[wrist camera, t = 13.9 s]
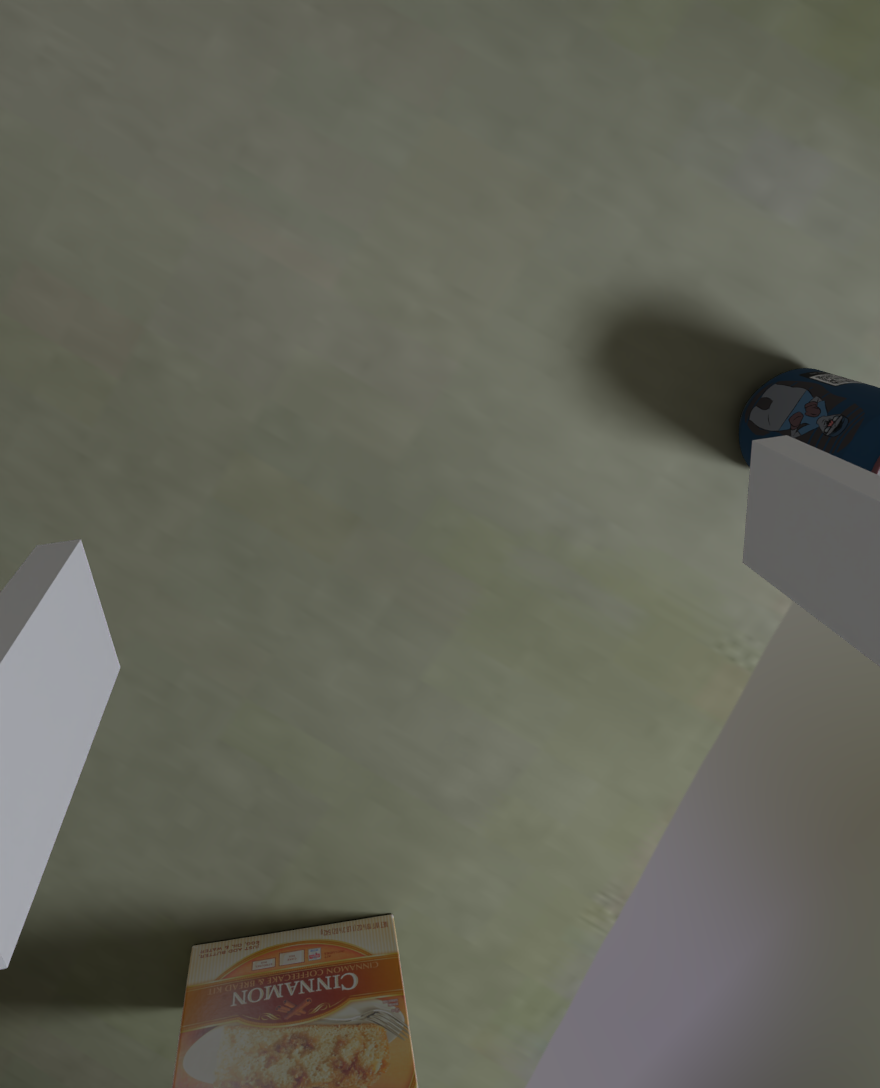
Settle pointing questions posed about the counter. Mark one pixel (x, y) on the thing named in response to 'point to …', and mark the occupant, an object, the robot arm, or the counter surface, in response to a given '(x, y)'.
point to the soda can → (816, 415)
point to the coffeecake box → (297, 1011)
